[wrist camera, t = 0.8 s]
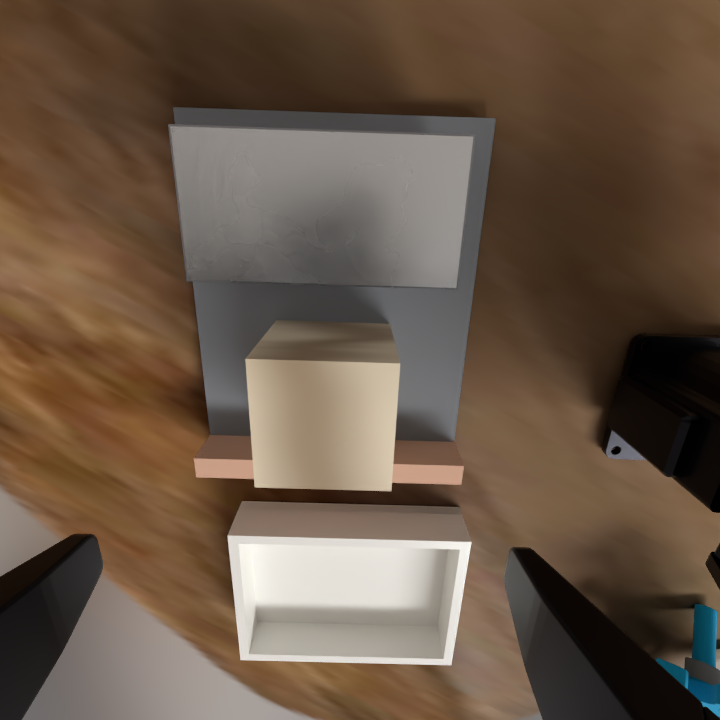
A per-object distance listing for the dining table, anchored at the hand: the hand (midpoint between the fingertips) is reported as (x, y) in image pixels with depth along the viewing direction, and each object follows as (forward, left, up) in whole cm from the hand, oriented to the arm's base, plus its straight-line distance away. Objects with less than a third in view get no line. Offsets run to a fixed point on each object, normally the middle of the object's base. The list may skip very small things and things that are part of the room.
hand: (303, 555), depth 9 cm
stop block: (0, 0, -10) cm, 10 cm away
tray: (-1, +12, -11) cm, 17 cm away
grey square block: (0, -7, -11) cm, 13 cm away
